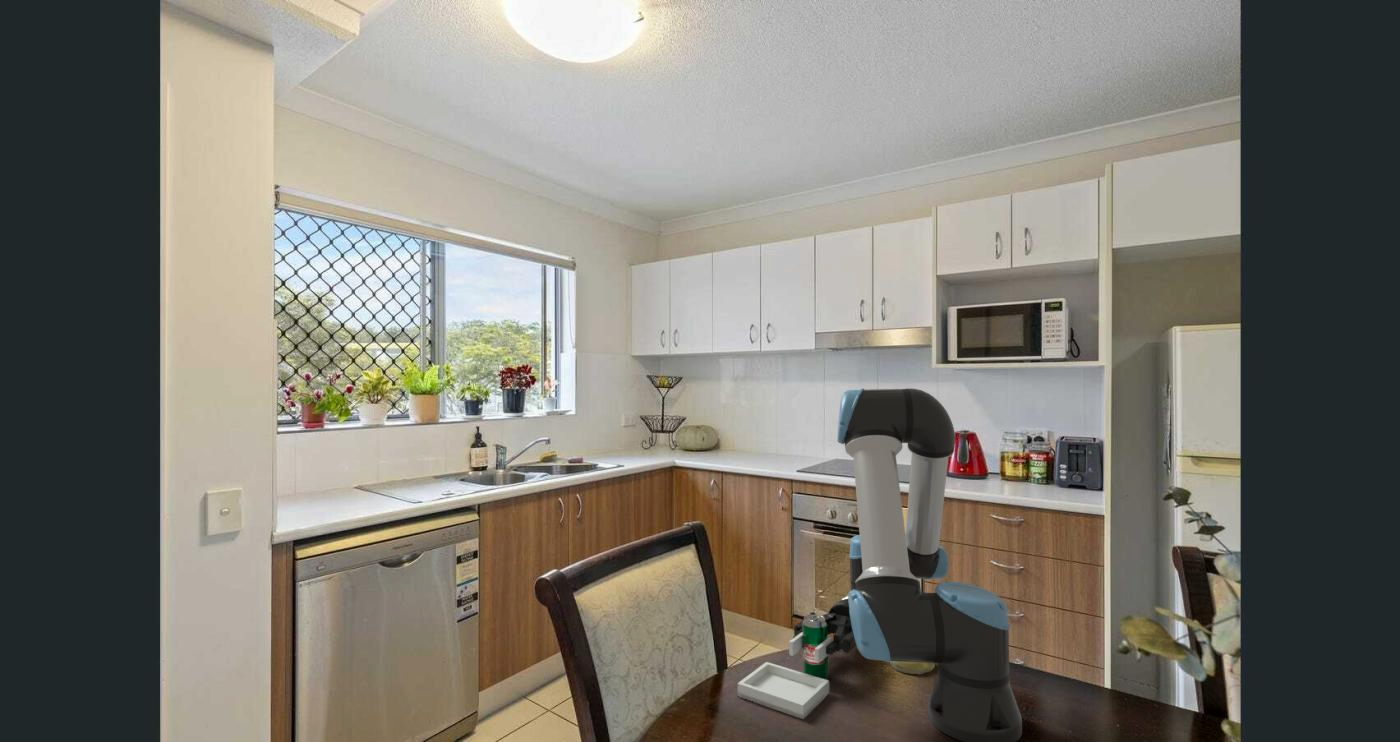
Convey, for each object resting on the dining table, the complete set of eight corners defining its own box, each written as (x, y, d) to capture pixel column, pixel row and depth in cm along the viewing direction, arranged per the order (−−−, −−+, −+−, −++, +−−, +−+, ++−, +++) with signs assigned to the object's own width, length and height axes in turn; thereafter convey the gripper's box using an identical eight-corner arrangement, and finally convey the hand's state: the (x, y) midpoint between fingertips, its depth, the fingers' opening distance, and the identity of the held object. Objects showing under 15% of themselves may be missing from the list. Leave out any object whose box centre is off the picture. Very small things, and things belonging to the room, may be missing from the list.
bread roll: (881, 662, 132) (881, 643, 132) (915, 655, 135) (914, 637, 135) (907, 680, 124) (906, 660, 125) (942, 671, 128) (941, 652, 128)
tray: (829, 693, 119) (829, 680, 119) (803, 719, 110) (802, 705, 110) (766, 673, 127) (766, 661, 127) (737, 696, 118) (737, 683, 119)
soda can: (800, 680, 125) (798, 620, 125) (807, 669, 129) (806, 612, 129) (824, 685, 122) (823, 624, 122) (831, 674, 127) (830, 615, 127)
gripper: (889, 641, 135) (847, 684, 116) (814, 622, 145) (764, 659, 127) (889, 606, 135) (846, 644, 116) (814, 590, 146) (763, 623, 127)
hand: (803, 652), depth 121 cm, fingers closed on soda can, 5 cm apart
